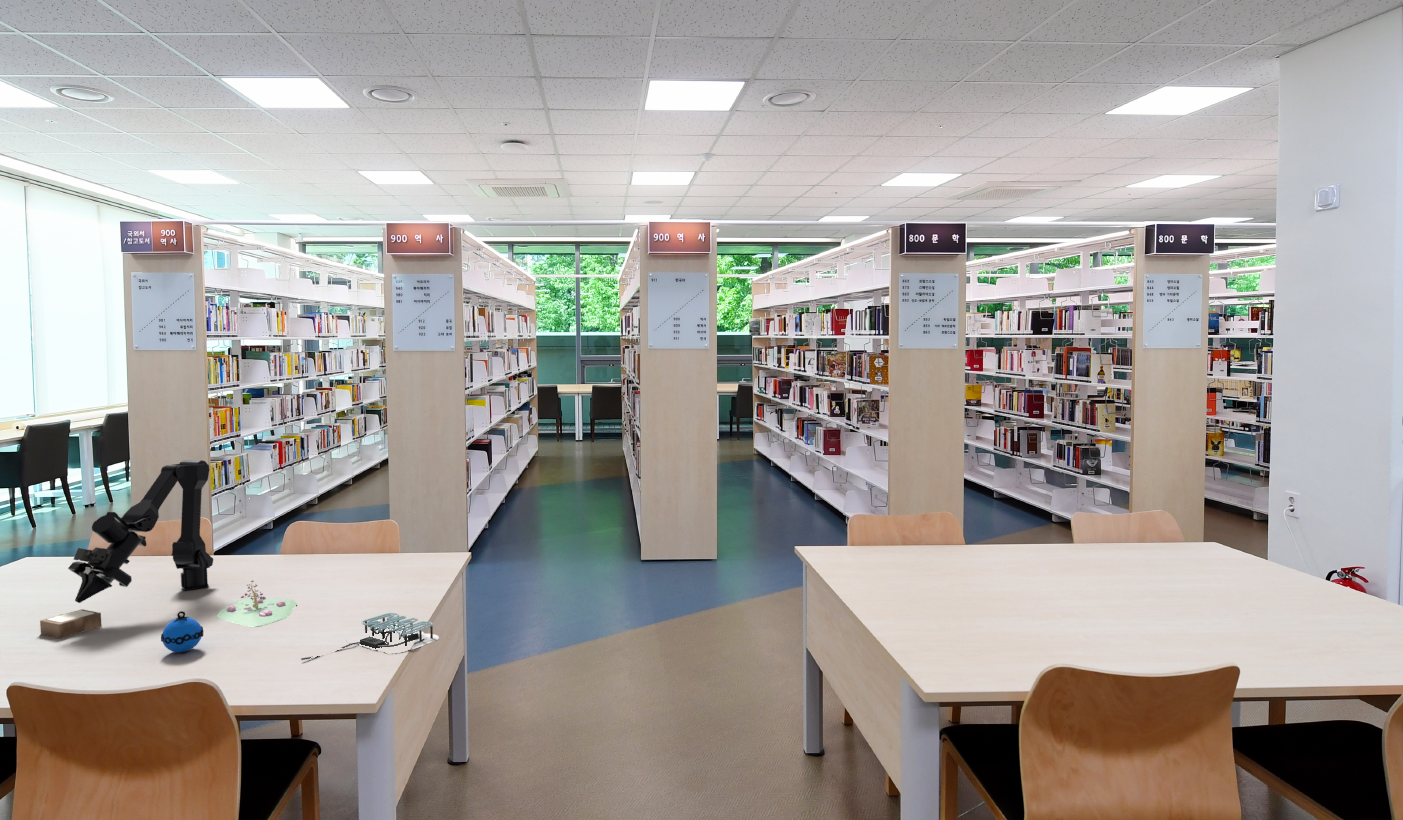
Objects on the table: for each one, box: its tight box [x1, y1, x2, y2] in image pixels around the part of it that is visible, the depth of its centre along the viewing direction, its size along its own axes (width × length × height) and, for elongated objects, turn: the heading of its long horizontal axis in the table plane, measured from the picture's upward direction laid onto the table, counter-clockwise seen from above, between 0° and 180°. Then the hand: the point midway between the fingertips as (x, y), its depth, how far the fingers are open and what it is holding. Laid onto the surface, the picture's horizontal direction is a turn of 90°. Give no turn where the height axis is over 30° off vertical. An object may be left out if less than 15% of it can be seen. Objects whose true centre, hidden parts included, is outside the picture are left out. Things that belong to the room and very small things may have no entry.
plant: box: [216, 580, 297, 628], centre depth 228 cm, size 25×21×9 cm
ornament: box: [160, 610, 204, 654], centre depth 198 cm, size 9×9×10 cm
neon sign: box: [300, 612, 440, 661], centre depth 201 cm, size 21×4×29 cm
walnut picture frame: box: [39, 609, 102, 640], centre depth 213 cm, size 4×8×10 cm
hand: (77, 602), depth 214 cm, fingers closed
